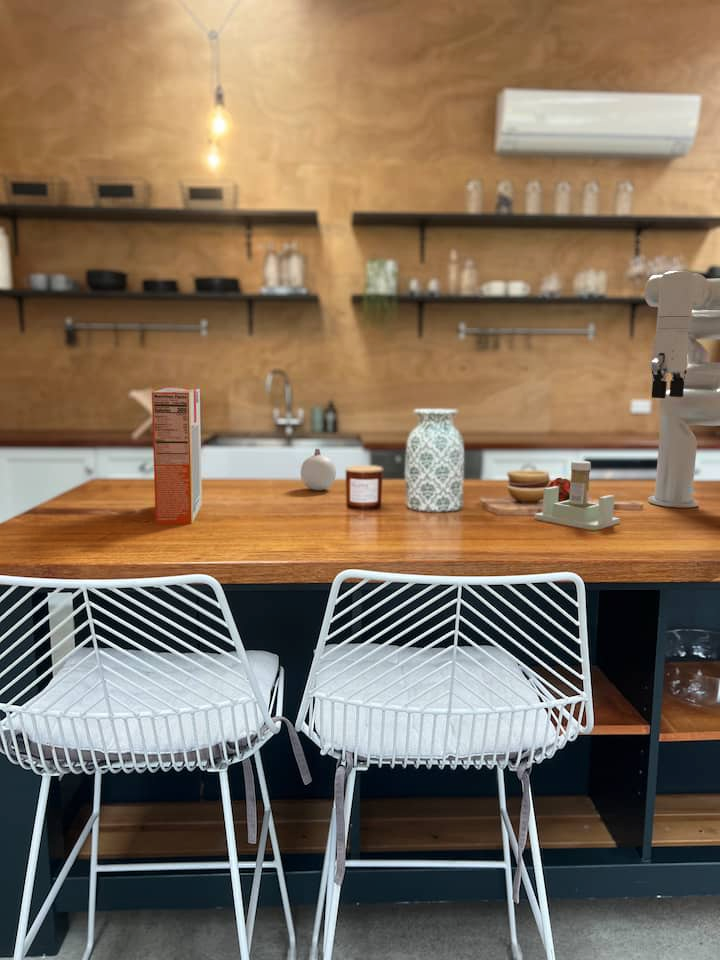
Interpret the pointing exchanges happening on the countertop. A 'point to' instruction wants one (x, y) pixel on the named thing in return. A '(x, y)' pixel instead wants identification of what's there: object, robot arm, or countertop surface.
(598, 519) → the caddy
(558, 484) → the dragon fruit
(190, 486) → the orange cereal box
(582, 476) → the sprinkles bottle
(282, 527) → the countertop surface
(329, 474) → the ornament
